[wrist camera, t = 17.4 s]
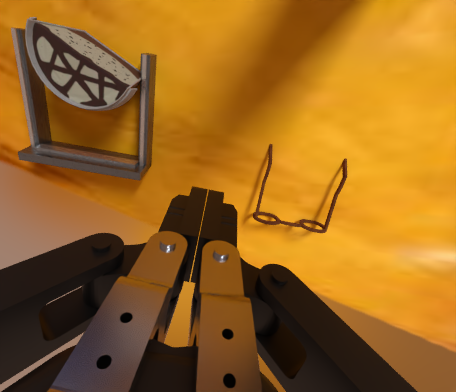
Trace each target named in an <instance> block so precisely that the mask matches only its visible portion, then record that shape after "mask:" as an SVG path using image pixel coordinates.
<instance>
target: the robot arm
mask: <svg viewBox="0 0 456 392" xmlns="http://www.w3.org/2000/svg"><path fill="white" fill-rule="evenodd" d="M207 190H208V189H203V188H198V187H193V186H192V189H191V192H190V195H189V196H184V195H178V196H176V197H175V198H173V199H172V201H171V203H170V206H169V208H168V210H167V213H166V215H165V217H164V220H163V222H162V224H161V227H160V229H159V232H158V233H156V234H154V235H153V236H151V237H150V239H149V240H148V242H147V243H143V244H138V245H124V242H123V241H122V239H121V238H120V237H118V236H116V235H114V234H110V233H98V234H94V235H91V236H88V237H85V238H83V239H80V240H78V241H75V242H72V243H70V244H67V245H65V246H62V247H59V248H56V249H54V250H51V251H49V252H46V253H43V254H41V255H38V256H36V257H33V258H30V259H28V260H25V261H22V262H20V263H17V264H14V265H12V266H9V267H6V268H4V269H1V270H0V384H2V383H3V382H5V381H6V380H8V379H10V378H11V377H13V376H14V375H16V374H18V373H19V372H21V371H23V370H24V369H26V368H27V367H29V366H30V365H32V364H34V363H35V362H37V361H38V360H40V359H42V358H43V357H45V356H46V355H48V354H50V353H51V352H53V351H54V350H56V349H58V348H59V347H61V346H62V345H64V344H65V343H67V342H69V341H70V340H72V339H74V338H75V337H77V336H78V335H80V334H82V333H83V332H84V334H83V336H82V337H81V339H80V340H79V342H78V344H77V345H75V346H72V347H70V348H68V349H66V350H64V351H62V352H60V353H58V354H57V355H55V356H54V357H52V358H51V359H49V360H48V361H46V362H45V363H43V364H42V365H40V366H39V367H37V368H36V369H34V370H33V371H31V372H30V373H28V374H27V375H25V376H24V377H22V378H21V379H19V380H18V381H16V382H15V383H13V384H12V385H10V386H9V387H7V388H6V389H5V390H3V391H2V392H278V391H277V389H276V388H275V387H274V386H273V384H272V383H271V382H270V381H269V379H267V377H265V376H264V375H263V374H262V373H261V372H260V370H259V361H258V354H259V355H260V357H261V358H262V359H263V361H264V362H265V363H266V365H267V366H268V368H269V369H270V370H271V372H272V373H273V374H274V376H275V377H276V378H277V380H278V381H279V383H280V384H281V385H282V387H283V388H284V389H285V391H286V392H417V391H416V390H415V389H414V388H413V387H412V386H411V385H410V384H409V383H408V382H407V381H406V380H404V378H403V377H401V376H400V375H399V374H398V373H397V372H396V371H395V370H394V369H393V368H392V367H391V366H390V365H389V364H388V363H387V362H386V361H385V360H383V358H382V357H380V356H379V355H378V354H377V353H376V352H375V351H374V350H373V349H372V348H371V347H370V346H369V345H368V344H367V343H366V342H365V341H364V340H363V339H362V338H361V337H359V336H358V335H357V334H356V333H355V332H354V331H353V330H352V329H351V328H350V327H349V326H348V325H347V324H346V323H345V322H344V321H343V320H342V319H341V318H340V317H339V316H338V315H336V314H335V313H334V312H333V311H332V310H331V309H330V308H329V307H328V306H327V305H326V304H325V303H324V302H323V301H322V300H321V299H320V298H319V297H318V296H317V295H315V294H314V293H313V292H312V291H311V290H310V289H309V288H308V287H307V286H306V285H305V284H304V283H303V282H302V281H301V280H300V279H299V278H298V277H297V276H296V275H295V274H293V273H292V272H291V271H290V270H289V269H287V268H286V267H284V266H281V265H278V264H268V265H265V266H263V267H262V268H261V269H259V268H256V267H254V266H252V265H250V264H248V263H247V262H245V261H244V260H243V259H242V258H241V257H240V254H239V251H238V250H237V211H236V209H235V207H234V206H233V205H231V204H226V203H223V198H224V192H219V191H213V190H209V192H208V197H207V202H206V207H205V211H204V206H205V201H206V195H207ZM203 211H204V216H203ZM202 216H203V221H202ZM201 222H202V226H201ZM200 227H201V231H200ZM199 231H200V236H199ZM198 236H199V241H198ZM197 241H198V246H197ZM196 246H197V251H196V257H195V262H194V267H193V273H192V277H191V282H193V283H195V288H194V294H193V298H192V306H191V307H192V308H191V318H190V328H189V340H188V346H187V347H170V346H168V345H166V344H164V341H165V338H166V335H167V331H168V328H169V326H170V323H171V319H172V317H173V313H174V311H175V307H176V304H177V301H178V298H179V294H180V292H181V290H182V286H183V282H184V281H187V282H189V279H190V274H191V269H192V265H193V260H194V255H195V250H196ZM80 286H82V287H81V288H79V289H77V290H75V291H73V292H71V293H69V294H67V295H65V296H63V297H61V298H59V299H57V300H55V301H53V302H51V303H49V302H50V301H52V300H54V299H56V298H58V297H60V296H62V295H64V294H66V293H68V292H70V291H72V290H74V289H76V288H78V287H80ZM47 303H49V304H47ZM46 304H47V305H46ZM257 353H258V354H257Z"/></svg>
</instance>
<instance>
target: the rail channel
mask: <svg viewBox="0 0 456 392" xmlns="http://www.w3.org/2000/svg"><path fill="white" fill-rule="evenodd" d="M11 31H12V37H13V43H14V49H15V54H16V60H17V66H18V72H19V78H20V83H21V89H22V95H23V101H24V106H25V112H26V118H27V124H28V129H29V135H30V141H31V146H29V147H27V148H25V149H23V150H21V151H19V152H18V155H19V160H24V161H30V162H36V163H42V164H48V165H53V166H59V167H65V168H71V169H77V170H82V171H88V172H94V173H100V174H105V175H111V176H117V177H123V178H129V179H134V180H141V178H142V177H143V176H144V174H145V173H146V172H147V170H148V169H149V168H150V166H151V159H152V138H153V117H154V97H155V76H156V55H154V54H149V53H143V54H141V81H140V123H139V156H134V155H129V154H123V153H118V152H112V151H106V150H101V149H95V148H89V147H84V146H78V145H72V144H67V143H61V142H56V141H52V140H51V133H50V125H49V118H48V110H47V103H46V96H45V88H44V82H43V81H42V80H41V79H40V77H39V76H38V74H37V73H36V71H35V69H34V67H33V65H32V63H31V60H30V57H29V55H28V50H27V46H26V38H25V33H26V29H21V28H11Z"/></svg>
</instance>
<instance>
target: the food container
mask: <svg viewBox="0 0 456 392" xmlns="http://www.w3.org/2000/svg"><path fill="white" fill-rule="evenodd" d="M25 38H26V46H27V50H28V55H29V57H30V60H31V63H32V65H33V67H34V69H35V71H36V73H37V74H38V76H39V77H40V79H41V80H42V81H43V82H44V84H45V85H46V86H47V87H48V88H49V89H50V90H51V91H52V92H53V93H54V94H55V95H57V96H58V97H60V98H61V99H62V100H64V101H66V102H68V103H69V104H71V105H74V106H76V107H79V108H82V109H86V110H95V111H103V110H111V109H115V108H117V107H119V106H122V105H123V104H125V103H126V102H127V101H129V100H130V99H131V98H132V97H133V95H134V94H135V92H136V91H137V88H135V87H136V86H138V85H139V84H140V81H141V71H139V70H138V69H137V68H135V67H134V66H133V65H131V64H130V63H128V62H127V61H126V60H124V59H123V58H122V57H120V56H119V55H117V54H116V53H115V52H113V51H112V50H111V49H109V48H108V47H106V46H105V45H104V44H102V43H101V42H100V41H98V40H97V39H95V38H94V37H93V36H91V35H90V34H89V33H87V32H86V31H84V30H79V29H75V28H70V27H65V26H61V25H56V24H51V23H47V22H42V21H37V18H36V17H30V18H29V19H27V23H26V33H25Z"/></svg>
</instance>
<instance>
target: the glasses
mask: <svg viewBox="0 0 456 392" xmlns="http://www.w3.org/2000/svg"><path fill="white" fill-rule="evenodd" d="M271 164H272V144H270V147H269V161H268V167H267V170H266V174H265V177H264V179H263V182H262V187H261V191H260V195H259V200H258V204H257V208H256V212H254V213H253V218H254V219H255V220H257V221H259V222H261V223H264V224H270V225H277V224H280V223H281V224H284V225H289V226H295V227H302V228H304V229H306V230H309V231H312V232H317V233H325V232H326V231H327V228H328V225H329V222H330V218H331V215H332V212H333V209H334V206H335V203H336V200H337V197H338V194H339V193H340V191H341V189H342V187H343V185H344V183H345V181H346V178H347V159H344V161H343V163H342V164H343V178H342V180H341V182H340V185H339V187H338V189H337V191H336V192H335V194H334V197H333V200H332V203H331V207H330V210H329V213H328V216H327V219H326V222H325V226H324V225H323V224H321V223H319V222H316V221H311V220H305V219H302V220H300V224H296V223H290V222H285V221H281V220H280V219H279V218H278V217H277V216H275V215H273V214H270V213H265V212H259V208H260V203H261V199H262V195H263V190H264V186H265V182H266V180H267V177H268V174H269V171H270V168H271ZM258 215H267V216H270V217H273V218H274V219H275V220H276V221H265V220H262V219H260V218H258V217H257V216H258ZM304 222H308V223H313V224H316V225H318V226H320V227H321V228H322V230H318V229H313V228H310V227H307V226H306V225H304V224H303V223H304Z"/></svg>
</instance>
